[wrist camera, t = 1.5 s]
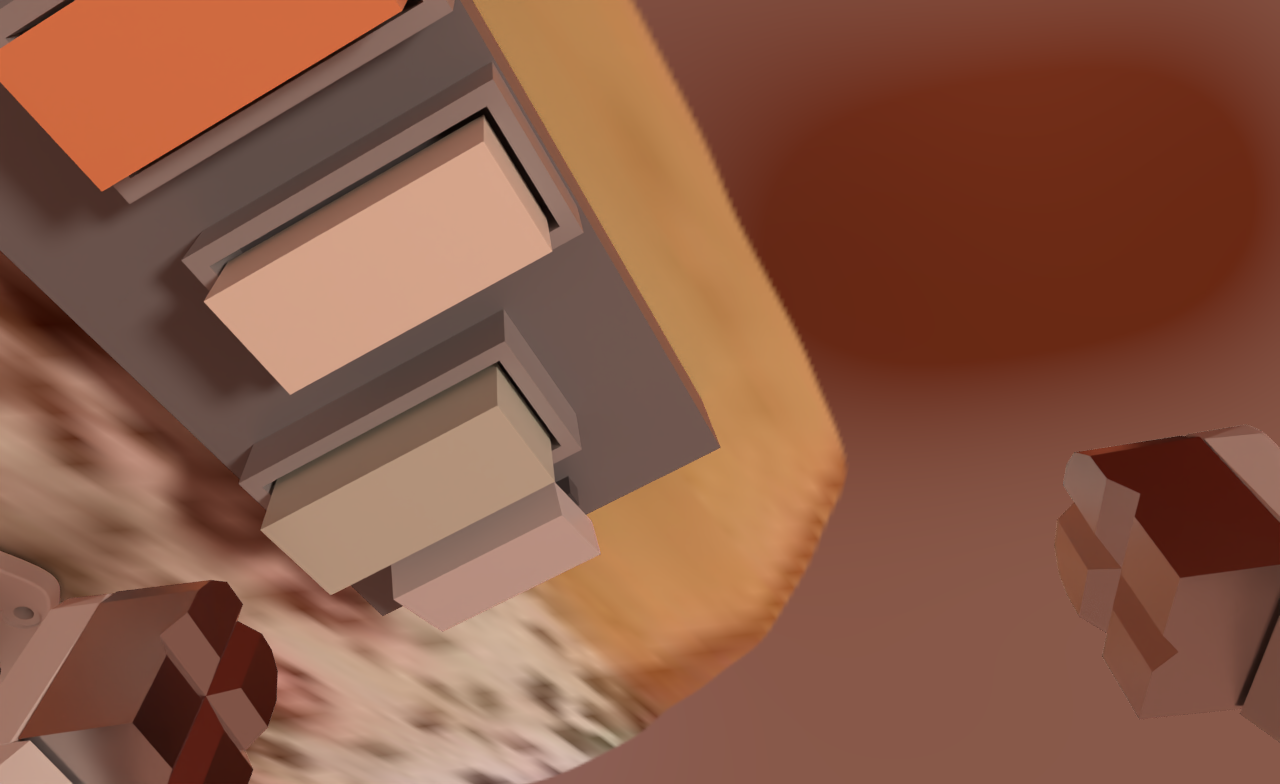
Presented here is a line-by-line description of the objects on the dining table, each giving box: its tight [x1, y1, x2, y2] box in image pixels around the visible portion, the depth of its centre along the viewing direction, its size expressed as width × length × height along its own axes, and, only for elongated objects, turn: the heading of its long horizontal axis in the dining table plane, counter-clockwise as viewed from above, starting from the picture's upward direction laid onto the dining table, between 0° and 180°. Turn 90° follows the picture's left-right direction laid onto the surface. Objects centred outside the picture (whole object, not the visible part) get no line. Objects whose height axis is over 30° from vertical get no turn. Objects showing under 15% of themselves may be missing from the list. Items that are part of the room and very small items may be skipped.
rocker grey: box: [391, 482, 601, 632], centre depth 37 cm, size 4×8×2 cm, turn 117°
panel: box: [0, 0, 720, 616], centre depth 33 cm, size 28×18×7 cm, turn 27°
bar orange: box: [0, 0, 407, 191], centre depth 24 cm, size 4×10×3 cm, turn 117°
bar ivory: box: [204, 115, 552, 395], centre depth 28 cm, size 4×10×3 cm, turn 117°
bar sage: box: [260, 362, 555, 595], centre depth 33 cm, size 4×10×3 cm, turn 117°
